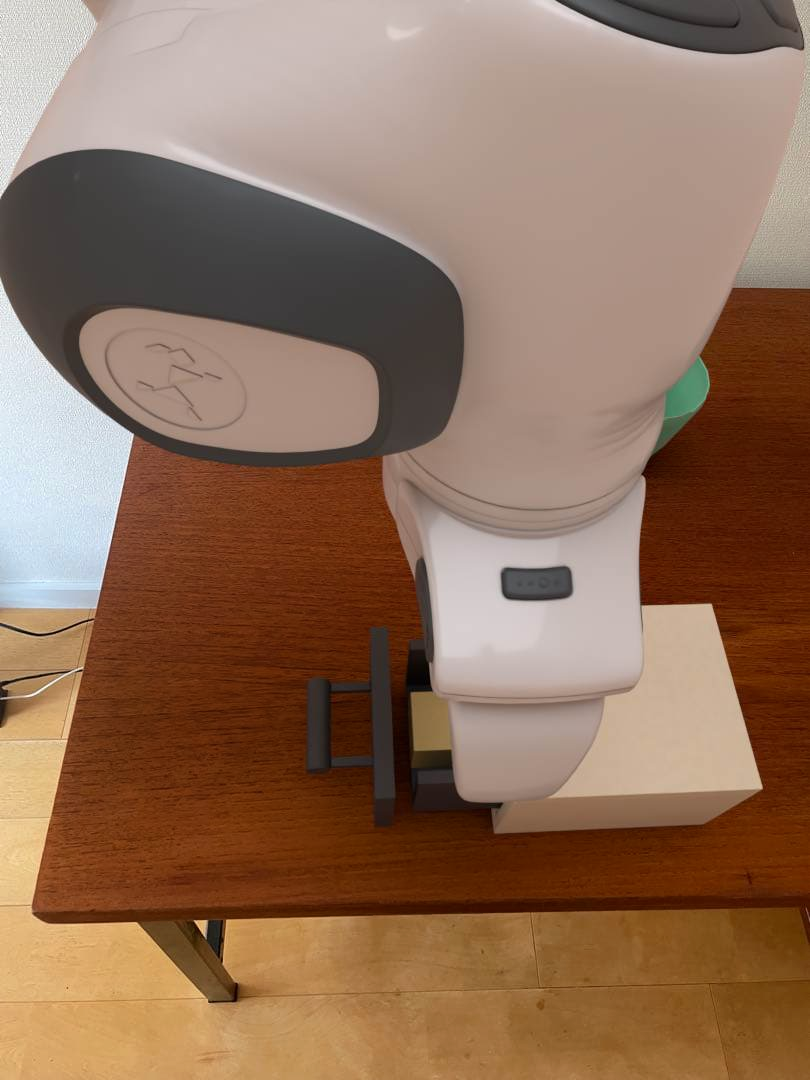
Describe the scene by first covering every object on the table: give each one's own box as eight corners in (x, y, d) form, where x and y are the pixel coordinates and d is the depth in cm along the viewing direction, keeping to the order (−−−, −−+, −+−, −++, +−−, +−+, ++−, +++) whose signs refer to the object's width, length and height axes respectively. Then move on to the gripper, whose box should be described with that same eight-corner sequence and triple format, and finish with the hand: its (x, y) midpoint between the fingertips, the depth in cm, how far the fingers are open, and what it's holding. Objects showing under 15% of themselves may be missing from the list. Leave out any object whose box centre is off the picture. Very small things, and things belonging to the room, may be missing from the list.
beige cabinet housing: (493, 833, 55) (516, 799, 46) (476, 666, 61) (493, 609, 53) (703, 824, 56) (763, 789, 47) (665, 660, 62) (712, 603, 54)
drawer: (310, 829, 54) (301, 801, 47) (311, 674, 59) (304, 629, 53) (572, 818, 55) (601, 789, 48) (549, 666, 60) (572, 621, 54)
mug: (657, 406, 76) (694, 328, 67) (680, 492, 70) (724, 418, 62) (504, 408, 75) (521, 328, 66) (516, 494, 70) (537, 420, 61)
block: (410, 768, 55) (413, 751, 51) (407, 711, 57) (410, 691, 53) (468, 766, 55) (475, 748, 52) (463, 710, 57) (469, 689, 54)
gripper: (403, 252, 33) (394, 455, 45) (440, 737, 23) (415, 835, 34) (554, 252, 34) (505, 453, 45) (658, 729, 23) (559, 829, 35)
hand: (466, 621), depth 40 cm, fingers open, 6 cm apart
